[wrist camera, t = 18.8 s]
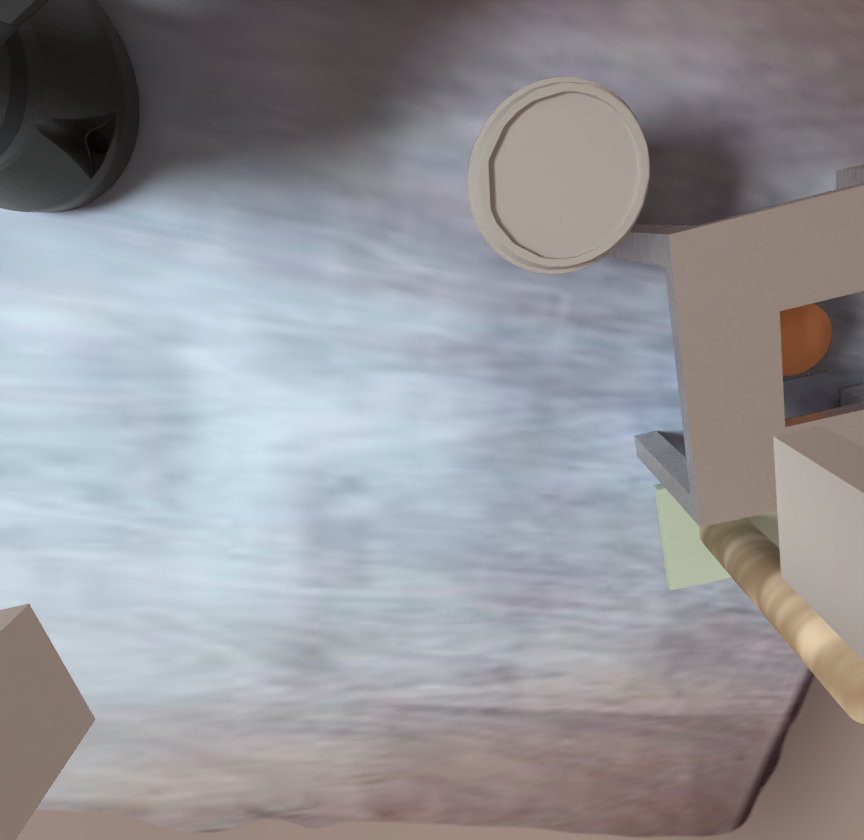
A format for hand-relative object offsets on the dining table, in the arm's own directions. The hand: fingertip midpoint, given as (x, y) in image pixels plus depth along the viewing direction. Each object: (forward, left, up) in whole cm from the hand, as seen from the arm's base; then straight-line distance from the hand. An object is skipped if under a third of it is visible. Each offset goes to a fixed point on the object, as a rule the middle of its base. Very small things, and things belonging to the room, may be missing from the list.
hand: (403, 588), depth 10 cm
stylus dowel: (+24, +20, -34) cm, 46 cm away
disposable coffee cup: (-6, +9, -35) cm, 37 cm away
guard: (+7, +23, -35) cm, 42 cm away
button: (+7, +23, -34) cm, 42 cm away
